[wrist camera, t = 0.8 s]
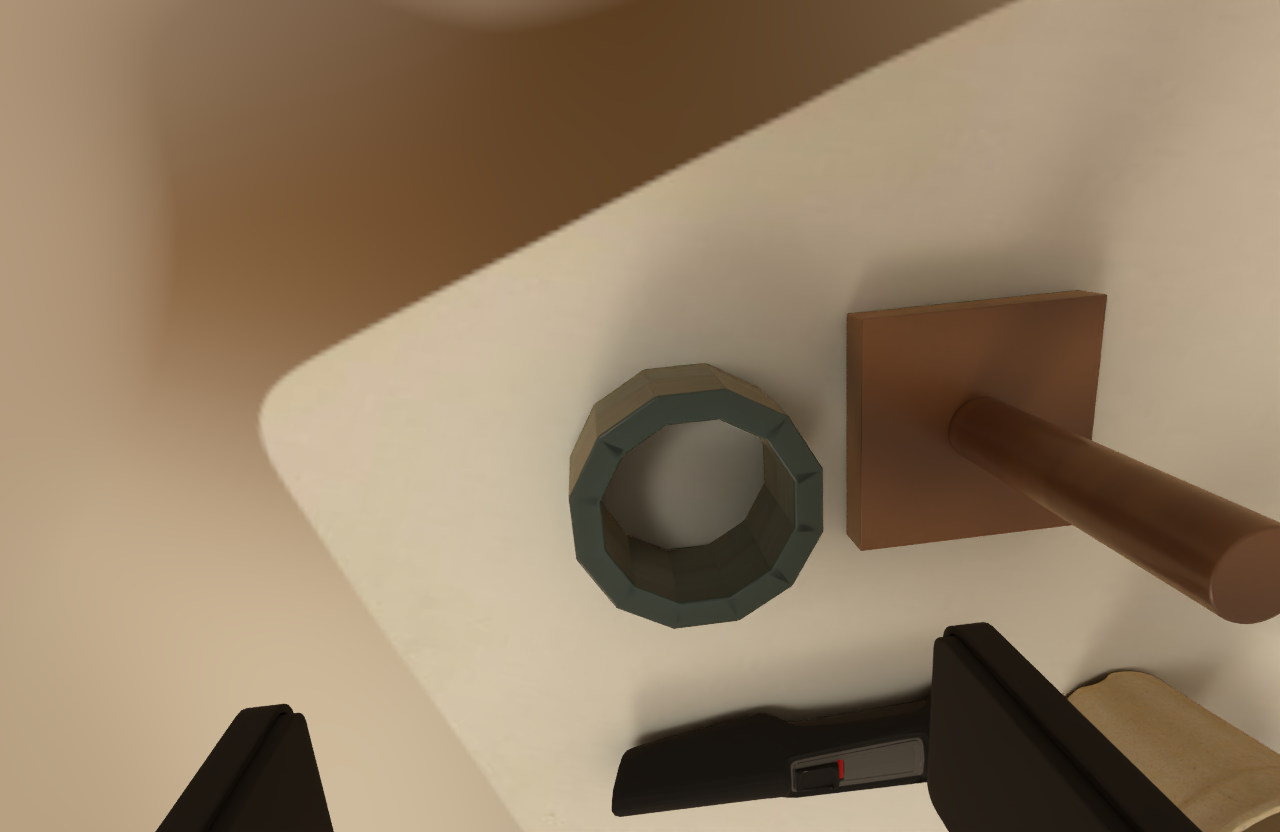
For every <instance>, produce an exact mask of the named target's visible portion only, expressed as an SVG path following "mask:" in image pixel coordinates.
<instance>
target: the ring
mask: <svg viewBox="0 0 1280 832" xmlns="http://www.w3.org/2000/svg"><path fill="white" fill-rule="evenodd" d="M717 419H720V420H722V421H724V422H727V423H729V424H731V425H733V426H736V427H738V428H740V429H743V430H745V431H747V432H749V433H752V434H754V435H756V436H759V438H760V439H761V440H762V442H763V452H764V480H765V484H764V486H763V488H762V489H761V491H760V493H759V495H758V497H757V499H756V501H755V502H754V504H753V506H752V508H751V510H750V512H749V514H748V516H747V517H746V519H745V521H744V522H742V523H741V524H739V525H738V526H736V527H735V528H733V529H732V530H730V531H729V532H727V533H726V534H724V535H723V536H721V537H720V538H718V539H717V540H715V541H714V542H712V543H711V544H709V545H706V546H698V547H689V548H681V549H673V550H665V549H662V548H660V547H657V546H655V545H652V544H650V543H647V542H644V541H642V540H639V539H637V538H634V537H631V536H629V535H627V534H626V533H625V532H624V530H623V529H622V528H621V527H620V525H619V524H618V523H617V522H616V520H615V519H614V518H613V517H612V515H611V514H610V513H609V512H608V510H607V509H606V508H605V507H604V505H603V504H602V502H601V499H602V497H603V495H604V493H605V491H606V489H607V487H608V485H609V483H610V481H611V479H612V477H613V474H614V472H615V470H616V468H617V466H618V464H619V462H620V460H621V458H622V456H623V455H624V454H625V453H627V452H628V451H630V450H631V449H633V448H634V447H636V446H637V445H638V444H640V443H641V442H643V441H644V440H646V439H647V438H649V437H650V436H651V435H653V434H654V433H656V432H657V431H659V430H660V429H662V428H663V427H664V426H666V425H672V424H681V423H690V422H699V421H708V420H717ZM569 504H570V512H571V520H572V528H573V536H574V544H575V552H576V559H577V561H578V562H579V563H580V565H581V566H582V567H583V568H584V569H585V571H586V572H587V573H588V574H589V575H590V577H591V578H592V579H593V580H594V581H595V583H596V584H597V585H598V586H599V587H600V589H601V590H602V591H603V592H604V593H605V595H606V596H607V597H608V598H609V599H610V601H611V602H612V603H613V604H614V605H615V606H616V608H618V609H621V610H624V611H627V612H629V613H632V614H635V615H638V616H641V617H643V618H646V619H649V620H652V621H654V622H657V623H660V624H663V625H665V626H668V627H671V628H674V629H676V628H683V627H691V626H699V625H707V624H714V623H722V622H730V621H737V620H740V619H742V618H744V617H745V616H747V615H748V614H750V613H751V612H753V611H754V610H756V609H757V608H759V607H760V606H762V605H763V604H765V603H766V602H768V601H769V600H771V599H773V598H774V597H776V596H777V595H779V594H780V593H782V592H783V591H785V590H786V589H788V588H789V587H791V586H792V585H793V583H794V582H795V580H796V578H797V576H798V575H799V573H800V571H801V569H802V568H803V566H804V564H805V562H806V561H807V559H808V557H809V555H810V554H811V552H812V550H813V548H814V547H815V545H816V543H817V541H818V540H819V538H820V536H821V534H822V532H823V468H822V466H821V465H820V463H819V462H818V460H817V459H816V457H815V456H814V454H813V453H812V451H811V450H810V448H809V447H808V445H807V444H806V442H805V441H804V439H803V438H802V436H801V435H800V433H799V432H798V430H797V429H796V427H795V426H794V424H793V423H792V421H791V420H790V418H789V417H788V416H787V415H786V414H785V413H784V412H783V411H782V410H781V409H780V408H779V407H778V406H777V405H776V404H775V403H774V402H773V401H772V400H770V399H769V398H768V397H767V396H766V395H765V394H764V393H763V392H762V391H761V390H760V389H759V388H758V387H756V386H754V385H752V384H750V383H747V382H745V381H743V380H741V379H739V378H736V377H734V376H732V375H730V374H727V373H725V372H723V371H721V370H719V369H716V368H714V367H712V366H710V365H708V364H694V365H684V366H674V367H665V368H655V369H646V370H643V371H641V372H640V373H639V374H637V375H636V376H634V377H633V378H631V379H630V380H629V381H627V382H626V383H624V384H623V385H622V386H620V387H619V388H617V389H616V390H614V391H613V392H612V393H610V394H609V395H607V396H606V397H605V398H603V399H602V400H600V401H599V402H597V403H596V404H595V405H594V406H593V408H592V410H591V413H590V415H589V417H588V419H587V421H586V423H585V426H584V428H583V430H582V432H581V434H580V436H579V439H578V441H577V443H576V445H575V447H574V449H573V452H572V454H571V456H570V476H569Z"/></svg>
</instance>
